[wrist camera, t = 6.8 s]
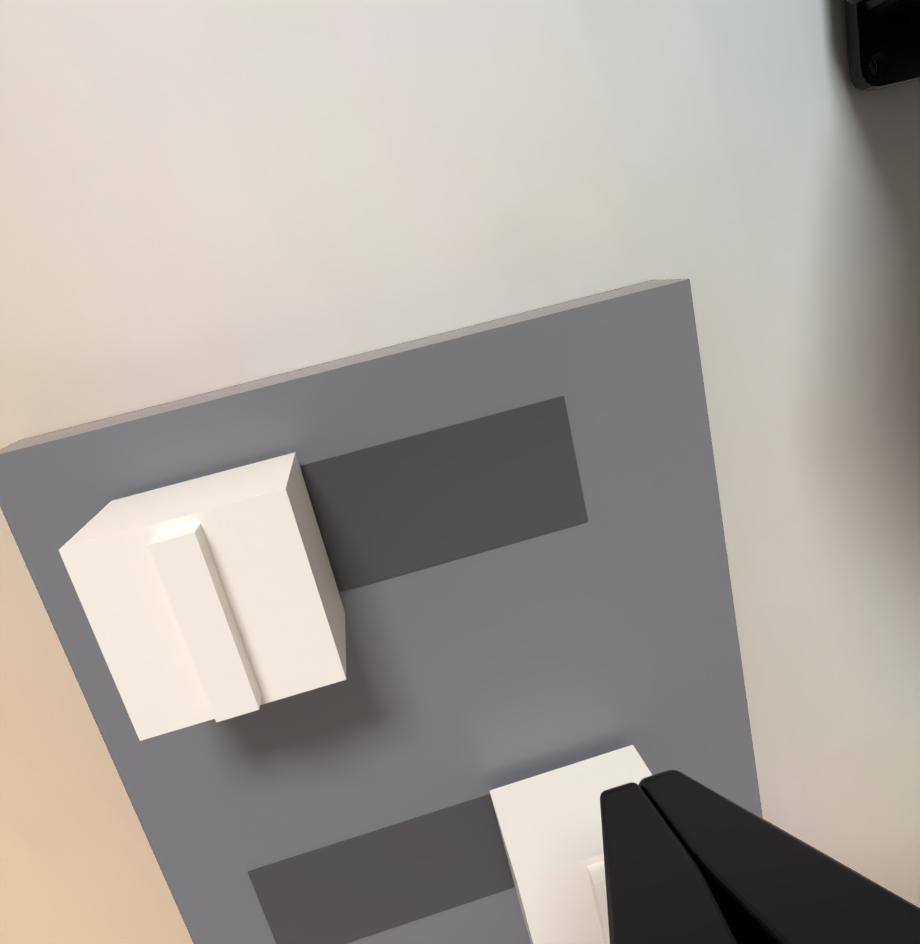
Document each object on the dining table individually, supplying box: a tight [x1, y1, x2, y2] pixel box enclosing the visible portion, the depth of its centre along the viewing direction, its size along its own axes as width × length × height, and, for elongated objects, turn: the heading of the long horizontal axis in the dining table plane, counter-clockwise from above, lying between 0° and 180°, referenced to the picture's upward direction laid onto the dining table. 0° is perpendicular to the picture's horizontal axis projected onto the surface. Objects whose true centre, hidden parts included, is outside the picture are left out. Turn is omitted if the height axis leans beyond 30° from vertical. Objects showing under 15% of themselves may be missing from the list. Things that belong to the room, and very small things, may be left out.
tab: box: [59, 452, 346, 741], centre depth 14 cm, size 4×4×4 cm
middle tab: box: [490, 745, 652, 944], centre depth 18 cm, size 4×4×4 cm
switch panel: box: [0, 279, 763, 944], centre depth 20 cm, size 16×27×2 cm, turn 14°
